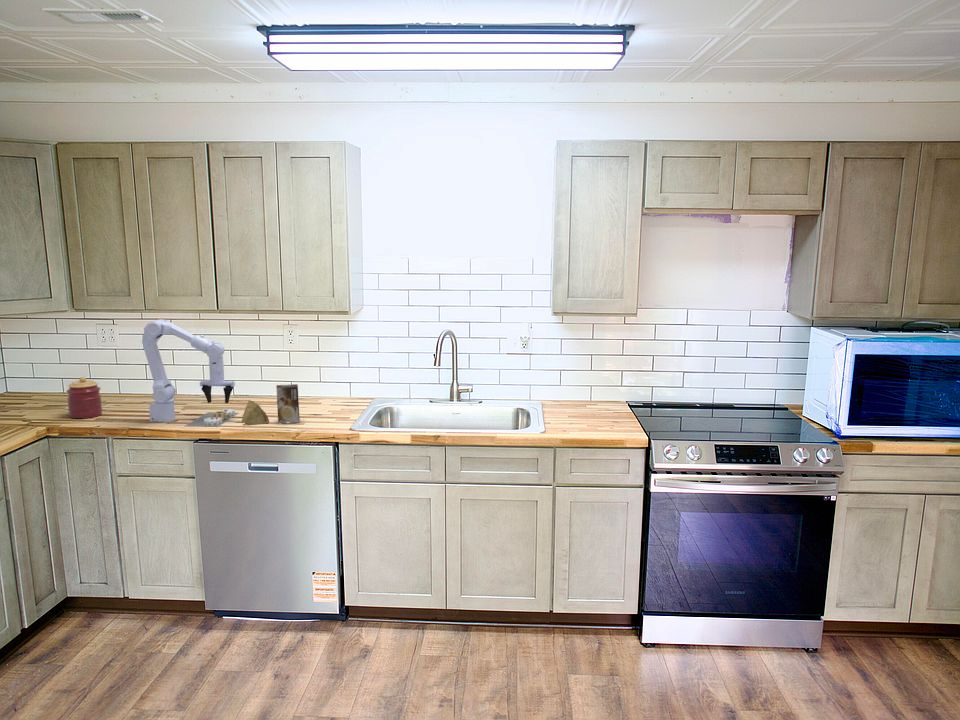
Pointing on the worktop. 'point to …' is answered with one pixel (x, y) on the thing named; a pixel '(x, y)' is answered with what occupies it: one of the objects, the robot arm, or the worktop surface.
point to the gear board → (201, 421)
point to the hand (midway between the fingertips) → (218, 402)
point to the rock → (254, 414)
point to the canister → (84, 399)
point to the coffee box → (288, 403)
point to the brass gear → (220, 415)
